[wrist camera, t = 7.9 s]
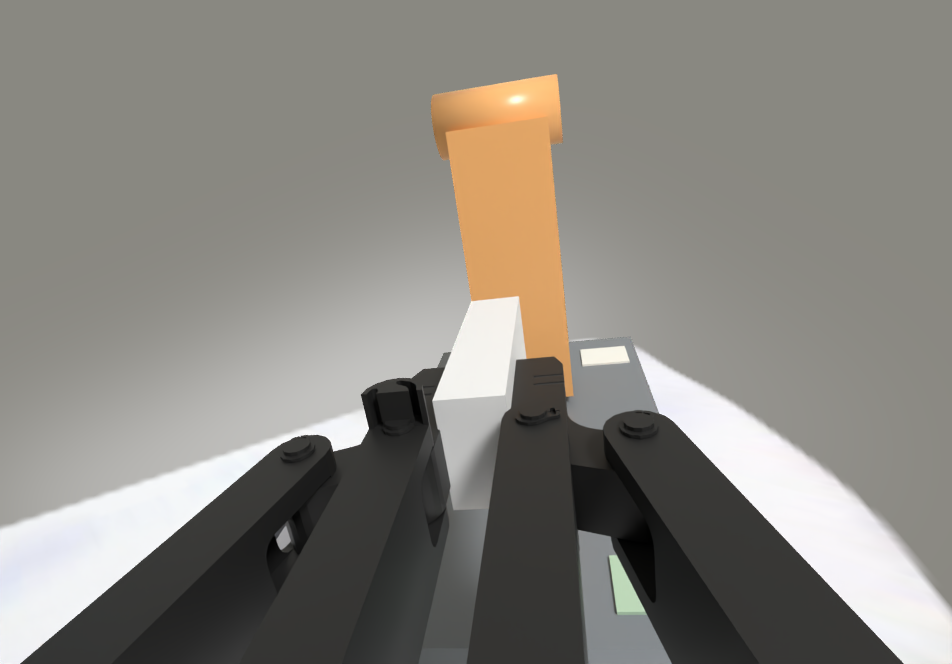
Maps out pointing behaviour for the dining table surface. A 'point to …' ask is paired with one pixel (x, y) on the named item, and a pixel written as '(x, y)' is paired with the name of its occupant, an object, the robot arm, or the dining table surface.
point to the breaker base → (603, 578)
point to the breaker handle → (509, 201)
